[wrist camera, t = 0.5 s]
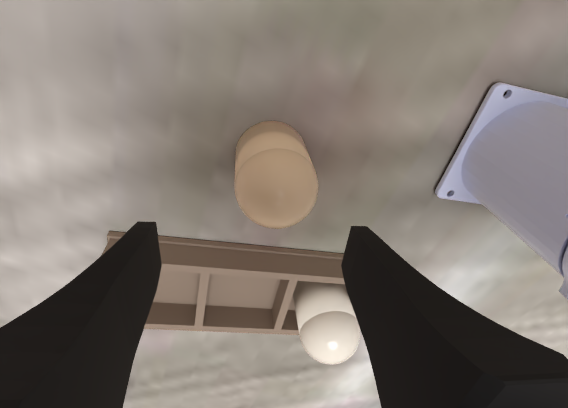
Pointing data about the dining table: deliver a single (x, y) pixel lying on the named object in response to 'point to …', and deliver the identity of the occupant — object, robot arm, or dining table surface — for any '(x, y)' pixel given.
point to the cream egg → (326, 321)
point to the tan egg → (274, 175)
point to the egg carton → (232, 285)
